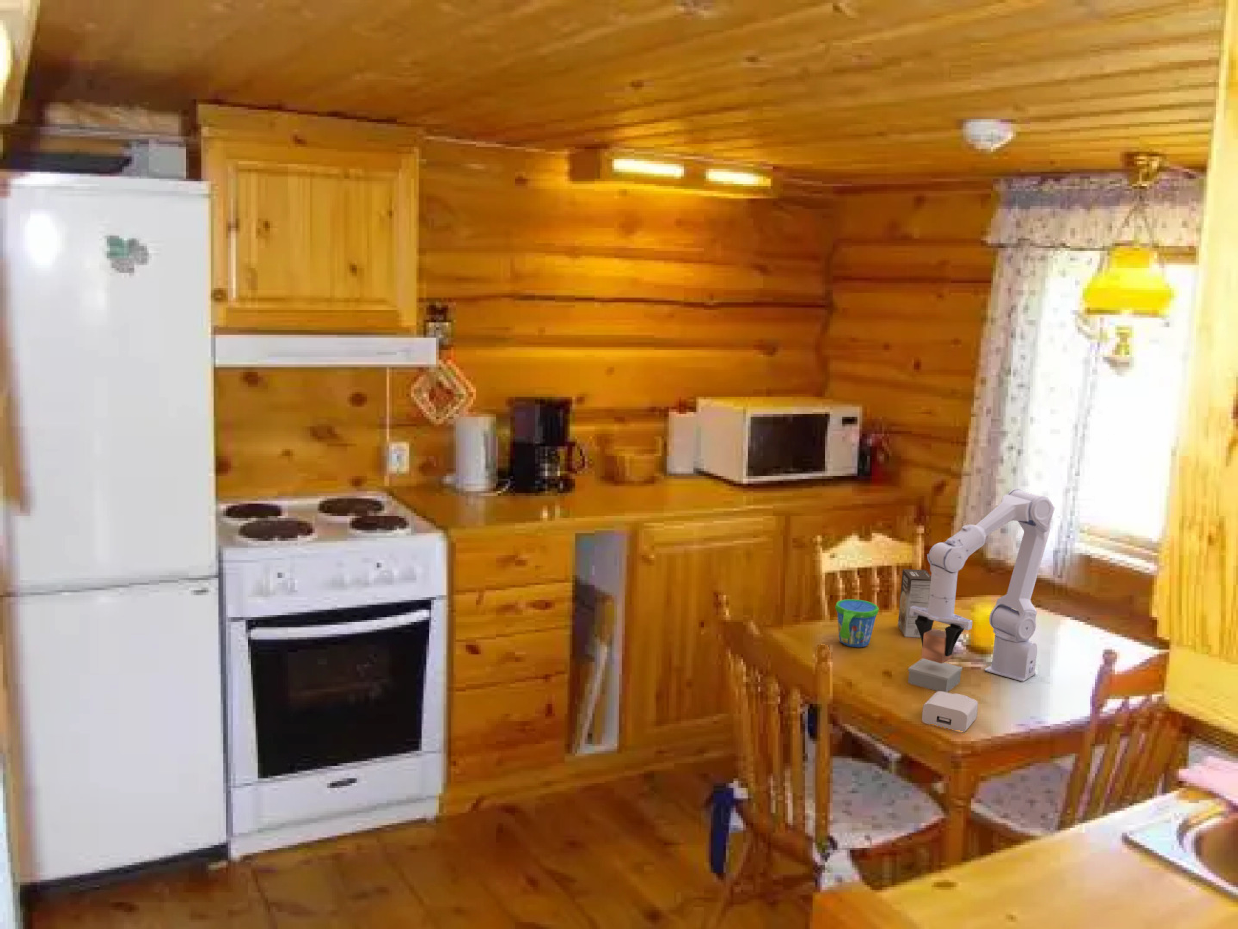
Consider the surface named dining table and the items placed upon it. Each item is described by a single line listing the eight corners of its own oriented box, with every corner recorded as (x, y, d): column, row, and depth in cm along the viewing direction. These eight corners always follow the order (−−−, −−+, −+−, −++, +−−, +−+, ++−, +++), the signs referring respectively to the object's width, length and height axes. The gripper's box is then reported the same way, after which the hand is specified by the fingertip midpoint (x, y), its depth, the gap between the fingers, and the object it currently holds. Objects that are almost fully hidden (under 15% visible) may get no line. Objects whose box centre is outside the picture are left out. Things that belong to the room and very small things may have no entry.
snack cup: (859, 656, 274) (862, 616, 272) (821, 646, 281) (823, 607, 279) (886, 641, 286) (889, 603, 284) (849, 631, 293) (852, 594, 291)
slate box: (960, 683, 260) (962, 667, 259) (946, 695, 252) (947, 678, 251) (922, 673, 265) (923, 657, 264) (906, 684, 258) (908, 668, 257)
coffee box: (896, 626, 299) (901, 568, 296) (920, 627, 299) (925, 569, 296) (904, 637, 290) (909, 578, 287) (929, 638, 290) (934, 579, 287)
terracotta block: (951, 658, 258) (953, 633, 257) (941, 663, 254) (944, 638, 253) (931, 652, 261) (933, 628, 260) (921, 658, 257) (923, 633, 256)
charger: (983, 711, 243) (965, 734, 231) (941, 701, 248) (921, 723, 235) (986, 691, 242) (967, 713, 230) (943, 681, 247) (923, 702, 235)
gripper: (905, 591, 256) (900, 647, 259) (964, 606, 247) (958, 664, 249) (919, 585, 262) (914, 641, 264) (978, 600, 252) (972, 657, 255)
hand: (936, 651), depth 257 cm, fingers closed on terracotta block, 5 cm apart
